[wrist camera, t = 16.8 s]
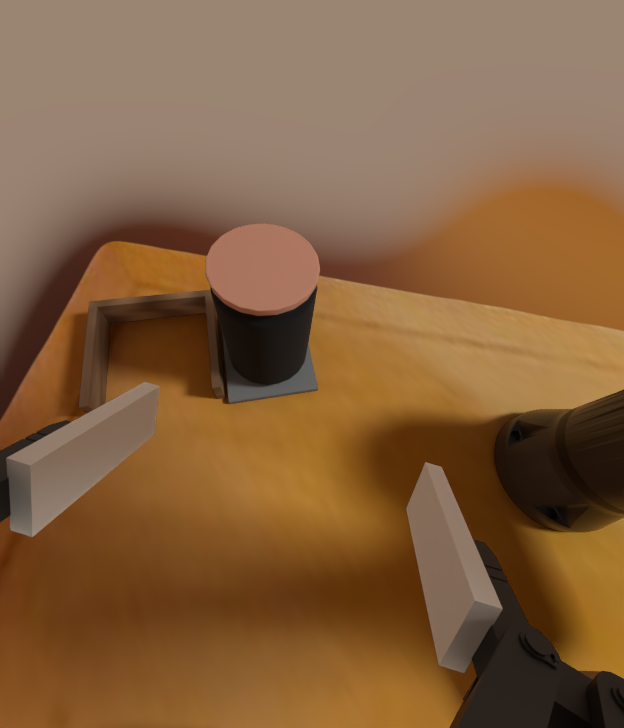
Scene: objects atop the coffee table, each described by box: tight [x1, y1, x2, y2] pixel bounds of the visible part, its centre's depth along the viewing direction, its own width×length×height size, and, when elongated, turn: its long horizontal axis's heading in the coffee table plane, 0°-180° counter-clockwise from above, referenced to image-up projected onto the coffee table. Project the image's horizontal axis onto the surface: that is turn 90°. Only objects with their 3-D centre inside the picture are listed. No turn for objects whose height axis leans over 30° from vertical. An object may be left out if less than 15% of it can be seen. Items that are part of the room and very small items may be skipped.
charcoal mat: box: [222, 333, 318, 404], centre depth 47 cm, size 12×13×1 cm
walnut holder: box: [79, 290, 225, 413], centre depth 44 cm, size 16×15×4 cm
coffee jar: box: [205, 224, 320, 385], centre depth 39 cm, size 11×11×18 cm
